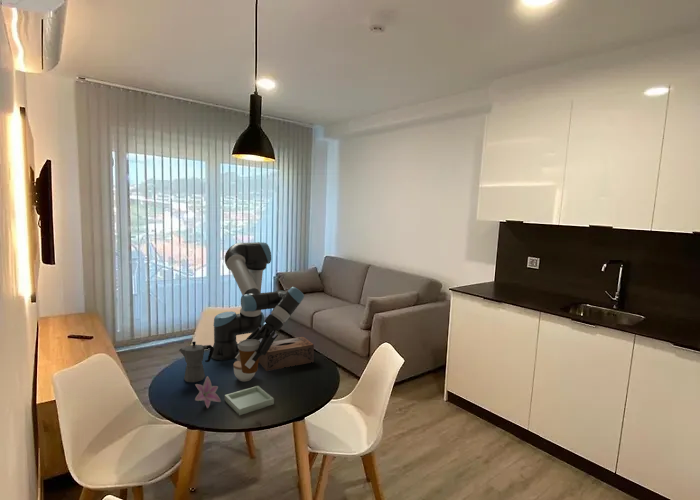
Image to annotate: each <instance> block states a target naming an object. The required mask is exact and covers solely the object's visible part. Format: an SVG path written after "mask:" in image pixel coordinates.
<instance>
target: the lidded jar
mask: <svg viewBox="0 0 700 500" xmlns="http://www.w3.org/2000/svg"><path fill="white" fill-rule="evenodd" d="M233 373H234V377H236V379H237V380H238V381H240V382H249V381H251V380H252V379H253V378H254V377H255V376H256V373H257V372H255V373H251V374H246V373H243V372H242V367H241V361H238V360H235V361H234V363H233Z"/></svg>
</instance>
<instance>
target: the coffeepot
mask: <svg viewBox="0 0 700 500" xmlns="http://www.w3.org/2000/svg"><path fill="white" fill-rule="evenodd" d="M196 343H197V342H196V341H192V342H191V345H188V346H187V345H186V346H185V347H182V348H180V349H178V352H180V354H182V356H183V357H184V361H185V363H186V367H185V372H184V376H183V377H184V378H183V379H184V381H185V382H186V383H197V382H200V381H203V380H204V379H205V378H206V374H205V369H204V365H203V360H204V353H205V351H206V350H209V353H208V355H207V356H208V357H207V359H206V360H204V362H205V363H210V361H211V360H212V358H211V357H212V354H213V351H214V348H213V345H211V344H206V345H202V344H196Z"/></svg>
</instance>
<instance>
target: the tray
mask: <svg viewBox="0 0 700 500" xmlns="http://www.w3.org/2000/svg"><path fill="white" fill-rule="evenodd" d="M224 401H225V403H226V404H227V405H228V406H229V407H230V408H231V409H233V411H235V413H236V414H237V415H238V416H242V415H245V414H248V413H249V414H250V413H252V412H254V411H258V410H260V409H263V408H264V409H265V408H266V407H270V406H272V405H274V404H275V398H274V397H273V396H272V395H271V394H269V393H268V392H266V391H265V390H264V389H263V388H261V387H260V385H255V386H253V387H248V388H244V389H240V390H238V391H234V392H231V393H227V394H224Z"/></svg>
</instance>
